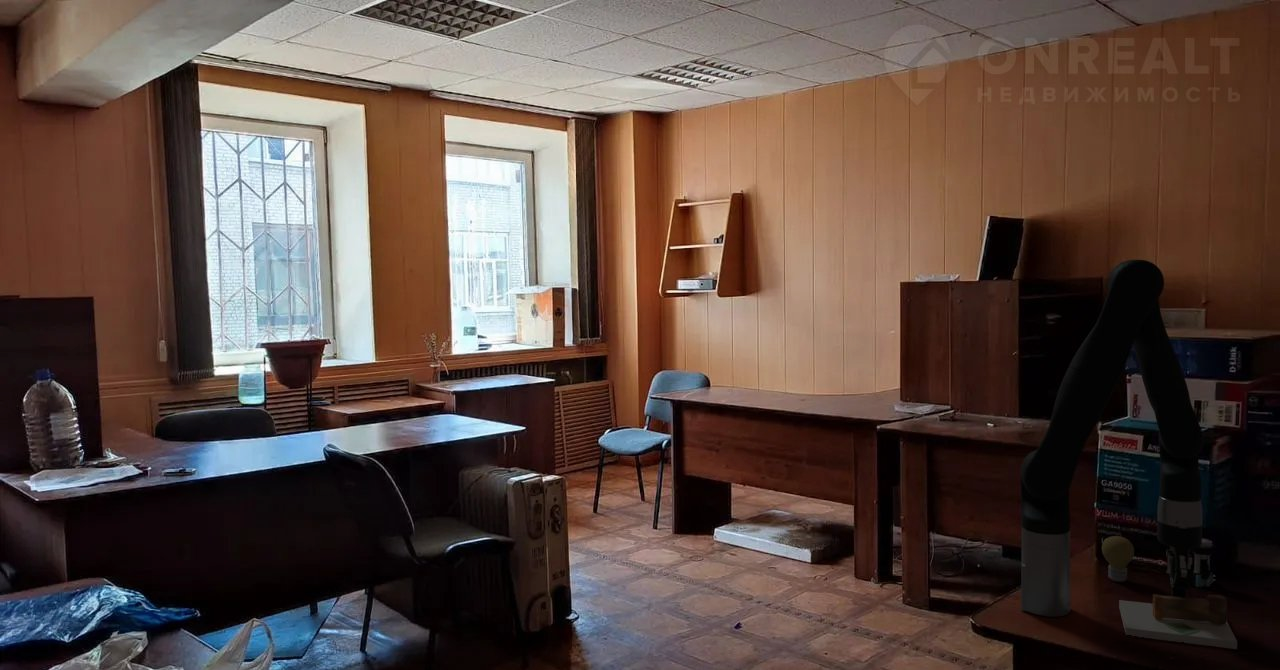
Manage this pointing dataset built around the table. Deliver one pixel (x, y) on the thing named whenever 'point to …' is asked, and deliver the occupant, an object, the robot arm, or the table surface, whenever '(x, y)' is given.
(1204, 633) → the plate
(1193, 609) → the peg lever
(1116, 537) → the light bulb
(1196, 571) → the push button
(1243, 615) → the table surface
